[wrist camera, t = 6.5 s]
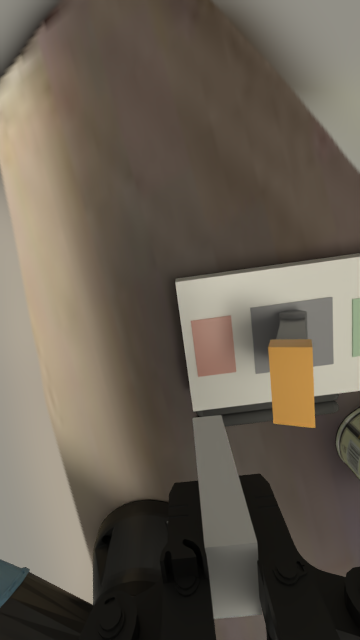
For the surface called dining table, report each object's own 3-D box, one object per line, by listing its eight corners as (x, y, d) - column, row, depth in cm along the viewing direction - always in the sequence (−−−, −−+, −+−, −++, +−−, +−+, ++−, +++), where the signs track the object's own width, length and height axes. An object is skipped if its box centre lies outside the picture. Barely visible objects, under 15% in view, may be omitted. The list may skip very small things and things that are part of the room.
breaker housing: (191, 389, 35) (193, 412, 29) (175, 278, 32) (175, 282, 26) (367, 367, 34) (401, 386, 29) (369, 251, 31) (406, 250, 26)
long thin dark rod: (197, 424, 36) (198, 432, 34) (194, 401, 35) (195, 408, 33) (334, 407, 35) (341, 414, 34) (333, 384, 34) (341, 390, 33)
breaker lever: (281, 363, 28) (273, 423, 19) (278, 310, 27) (268, 347, 18) (309, 364, 27) (315, 428, 18) (307, 309, 26) (312, 347, 17)
